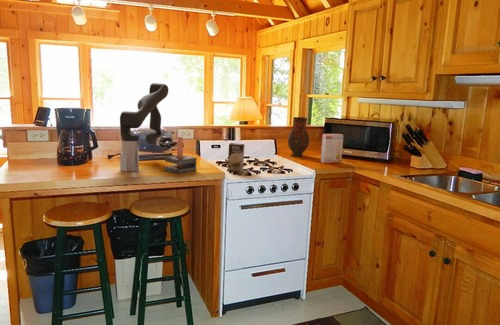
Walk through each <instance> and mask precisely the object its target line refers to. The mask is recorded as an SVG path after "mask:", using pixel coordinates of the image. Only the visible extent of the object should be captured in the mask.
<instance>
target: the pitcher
mask: <svg viewBox="0 0 500 325" xmlns="http://www.w3.org/2000/svg"><path fill="white" fill-rule="evenodd" d="M292 118H293V119H292V120H293V121H292V128H291V131H290V133H289V134H288V138H287V145H288V146H287V147H288V148H289V150H290V151H291V152H292V154H290V157H293V158H304V157H305V156H304V154H303V153H304V152H306V150H307V148H308V147H309V146H310V136H309V134H308V131H307V121H308V118H307V117H304V116H301V117H298V116H294V117H292Z"/></svg>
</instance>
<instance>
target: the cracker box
mask: <svg viewBox="0 0 500 325" xmlns="http://www.w3.org/2000/svg"><path fill="white" fill-rule="evenodd" d="M321 140H322V141H321V150H320V151H321V153H320V163H322V164H342V156H343V145H344V134H341V133H323V134H322V139H321Z"/></svg>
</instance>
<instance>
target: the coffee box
mask: <svg viewBox="0 0 500 325" xmlns="http://www.w3.org/2000/svg"><path fill="white" fill-rule="evenodd" d="M227 154H228V159H227V171H231V172H243V170H244V158H245V144H244V143H234V142H233V143H232V142H230V143H229V145H228V153H227Z"/></svg>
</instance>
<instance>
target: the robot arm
mask: <svg viewBox="0 0 500 325" xmlns="http://www.w3.org/2000/svg"><path fill="white" fill-rule="evenodd" d="M148 91H149V93H148V94H146V95H143V97H141V98H140V99H139V101H138V102H137V109H138V110H137V111H130V110H129V111H127V110H126V111H125V110H124V111H122V112H121V113H120V116H119V127H120V137H121V153H120V154H119V159H120V160H119V162H120V163H119V164H120V165H119V167H120V171H122V172H126V173H128V172H129V173H131V172H138V171H139V170H140V155H139V154H140V143H139V142H140V140H139V139H140V137H139V135H138V134H137V133H135V132H133V131H132V130H131V129H138V128H140V127H141V126H142V124H143V123H144V121H145V120H146V119H147V117H148V116H149V114H150V116H149V129H150V130H152V131H154V132H155V133H151V132H149V133H147V134H146V135H145V142H146V143H147V144H148V145H154V146H157V147H159V148H161V149H164V150H170V149H171V148H177V145H178V141H176V140H175V141H174V140H173V139H172V138H171V137H168V136H165V135H162V129H161V125H162V115H161V112H160V111H159V108H158V106H157V105H159V104H160V103H161V102H162V101H163V100H164V99H166V98H167V97H168V95H169V86H168V85H167V84H165V83H159V82H158V83H157V82H152V83H151V84H150V85H149V90H148ZM184 146H185V145H184V143H183V148H184Z"/></svg>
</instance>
